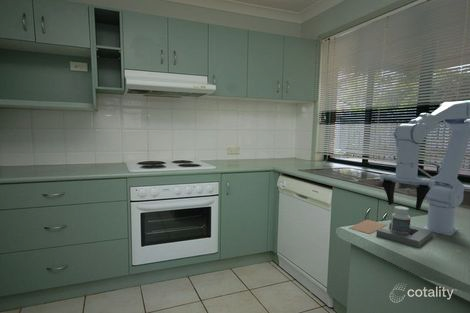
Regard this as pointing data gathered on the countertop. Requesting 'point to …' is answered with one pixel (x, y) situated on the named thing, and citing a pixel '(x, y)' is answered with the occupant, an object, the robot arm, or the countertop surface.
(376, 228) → the rubber pad
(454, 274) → the countertop surface
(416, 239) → the socket dock
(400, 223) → the pill bottle
